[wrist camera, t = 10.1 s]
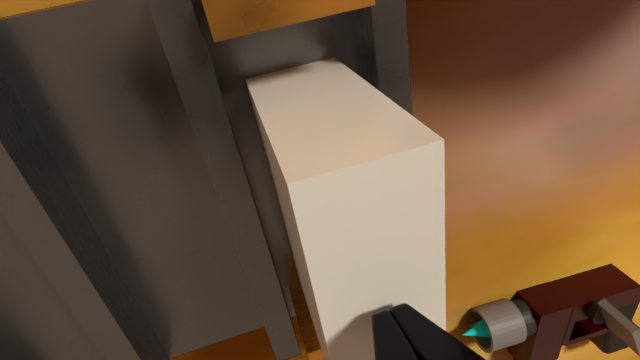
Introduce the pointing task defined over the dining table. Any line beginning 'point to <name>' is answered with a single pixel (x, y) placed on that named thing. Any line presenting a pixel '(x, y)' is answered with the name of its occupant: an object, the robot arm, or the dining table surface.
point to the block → (353, 199)
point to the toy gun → (562, 316)
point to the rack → (159, 170)
